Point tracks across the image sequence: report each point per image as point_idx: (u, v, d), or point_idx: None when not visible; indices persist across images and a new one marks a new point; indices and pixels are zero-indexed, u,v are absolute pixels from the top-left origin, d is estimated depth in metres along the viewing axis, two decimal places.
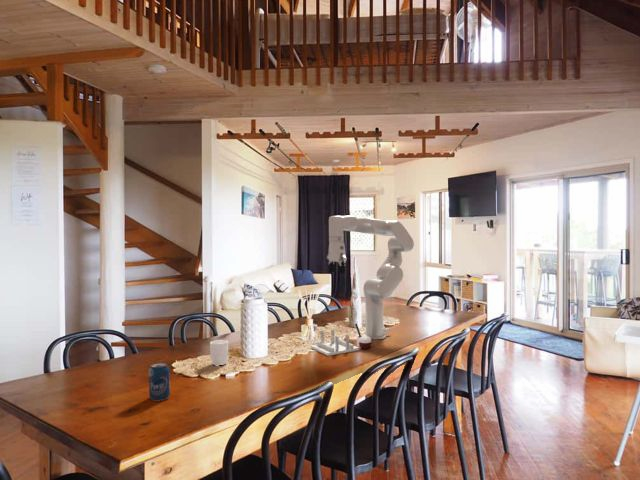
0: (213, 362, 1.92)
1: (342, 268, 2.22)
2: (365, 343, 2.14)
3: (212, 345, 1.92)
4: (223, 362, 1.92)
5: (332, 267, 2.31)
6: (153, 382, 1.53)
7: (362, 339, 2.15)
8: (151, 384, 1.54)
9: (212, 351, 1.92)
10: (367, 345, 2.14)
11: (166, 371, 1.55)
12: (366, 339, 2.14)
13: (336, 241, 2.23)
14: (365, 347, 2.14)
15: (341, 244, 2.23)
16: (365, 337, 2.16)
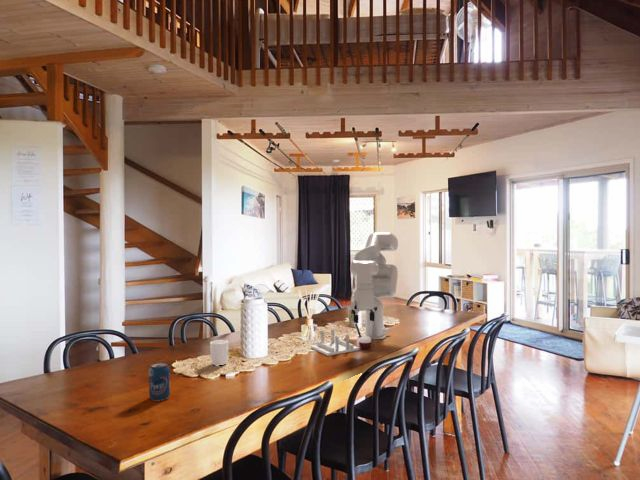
0: (213, 362, 1.92)
1: None
2: (365, 343, 2.14)
3: (212, 345, 1.92)
4: (223, 362, 1.92)
5: None
6: (153, 382, 1.53)
7: (362, 339, 2.15)
8: (151, 384, 1.54)
9: (212, 351, 1.92)
10: (367, 345, 2.14)
11: (166, 371, 1.55)
12: (366, 339, 2.14)
13: (371, 288, 2.16)
14: (365, 347, 2.14)
15: None
16: (365, 337, 2.16)
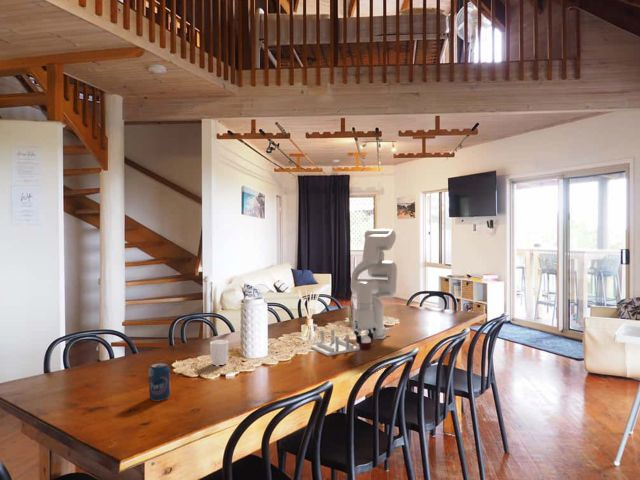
0: (213, 362, 1.92)
1: None
2: (364, 343, 2.14)
3: (212, 345, 1.92)
4: (223, 362, 1.92)
5: None
6: (153, 382, 1.53)
7: (362, 339, 2.15)
8: (151, 384, 1.54)
9: (212, 351, 1.92)
10: (367, 345, 2.14)
11: (166, 371, 1.55)
12: (366, 339, 2.14)
13: (371, 307, 2.17)
14: (365, 347, 2.14)
15: None
16: (365, 337, 2.16)
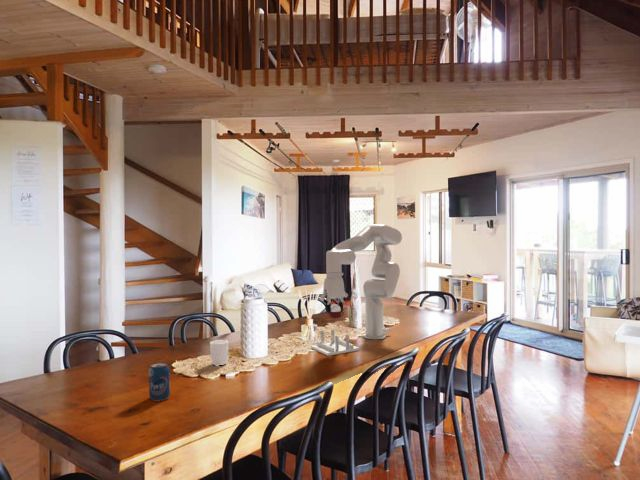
0: (213, 362, 1.92)
1: None
2: (334, 311, 2.13)
3: (212, 345, 1.92)
4: (223, 362, 1.92)
5: None
6: (153, 382, 1.53)
7: (332, 308, 2.14)
8: (151, 384, 1.54)
9: (212, 351, 1.92)
10: (336, 314, 2.13)
11: (166, 371, 1.55)
12: (335, 308, 2.14)
13: (341, 276, 2.16)
14: (334, 316, 2.13)
15: None
16: (335, 306, 2.15)
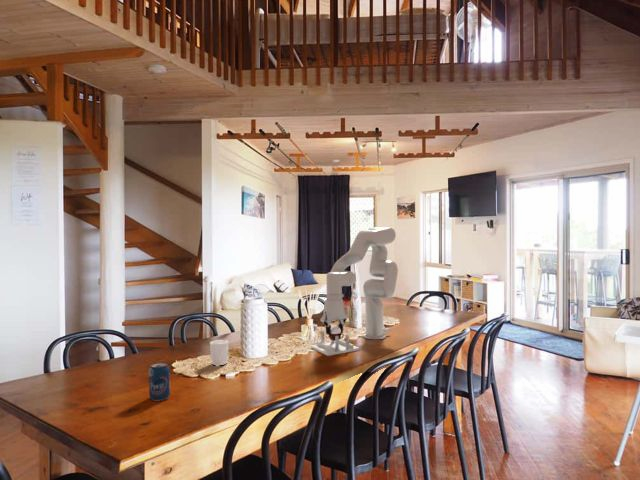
0: (213, 362, 1.92)
1: None
2: (334, 334, 2.13)
3: (212, 345, 1.92)
4: (223, 362, 1.92)
5: None
6: (153, 382, 1.53)
7: (332, 330, 2.14)
8: (151, 384, 1.54)
9: (212, 351, 1.92)
10: None
11: (166, 371, 1.55)
12: (336, 330, 2.14)
13: (341, 298, 2.16)
14: (334, 338, 2.13)
15: None
16: (335, 328, 2.15)
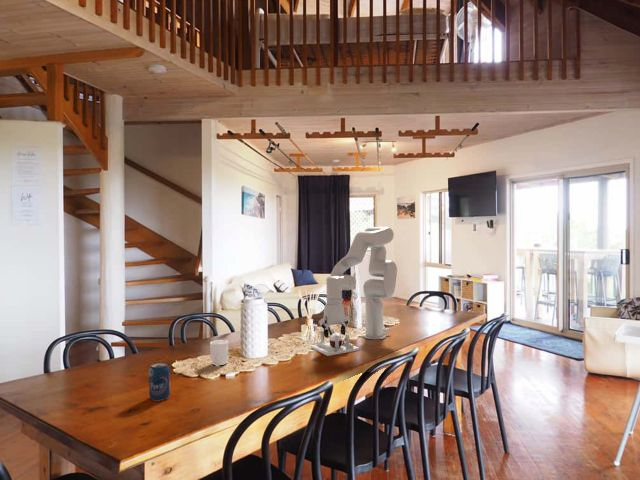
0: (213, 362, 1.92)
1: None
2: None
3: (212, 345, 1.92)
4: (223, 362, 1.92)
5: None
6: (153, 382, 1.53)
7: (332, 337, 2.15)
8: (151, 384, 1.54)
9: (212, 351, 1.92)
10: None
11: (166, 371, 1.55)
12: None
13: (341, 302, 2.16)
14: None
15: None
16: (335, 335, 2.15)
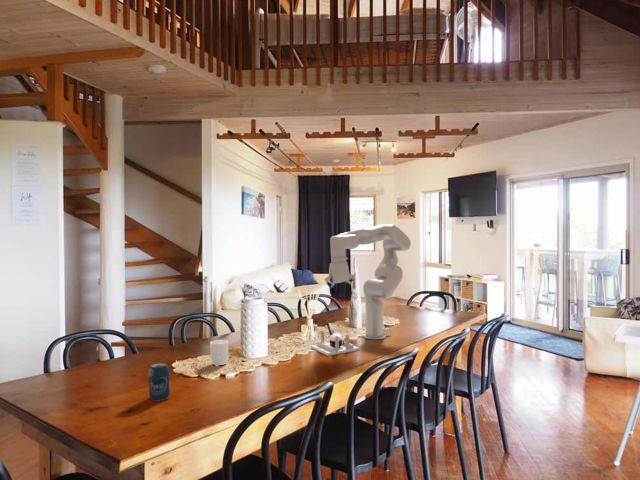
0: (213, 362, 1.92)
1: None
2: None
3: (212, 345, 1.92)
4: (223, 362, 1.92)
5: None
6: (153, 382, 1.53)
7: (332, 337, 2.15)
8: (151, 384, 1.54)
9: (212, 351, 1.92)
10: None
11: (166, 371, 1.55)
12: None
13: None
14: None
15: None
16: (335, 335, 2.15)
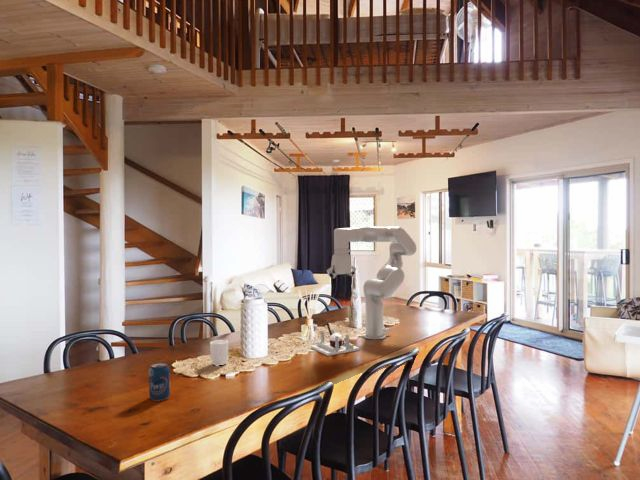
0: (213, 362, 1.92)
1: None
2: None
3: (212, 345, 1.92)
4: (223, 362, 1.92)
5: None
6: (153, 382, 1.53)
7: (332, 337, 2.15)
8: (151, 384, 1.54)
9: (212, 351, 1.92)
10: None
11: (166, 371, 1.55)
12: None
13: (348, 253, 2.26)
14: None
15: None
16: (335, 335, 2.15)
